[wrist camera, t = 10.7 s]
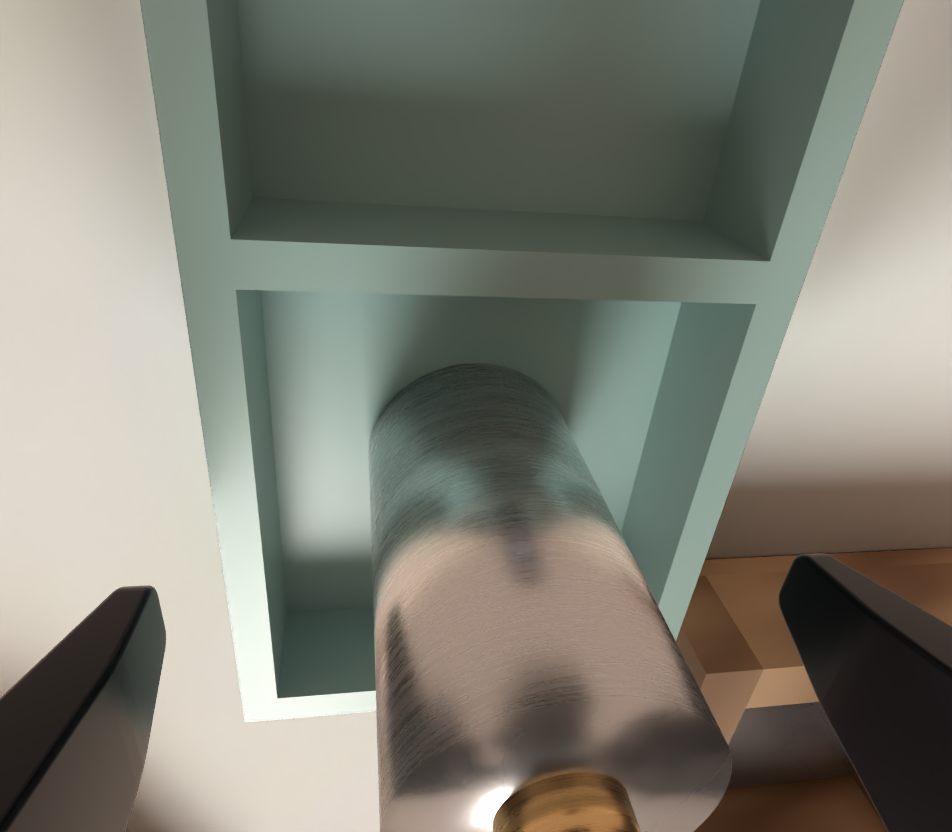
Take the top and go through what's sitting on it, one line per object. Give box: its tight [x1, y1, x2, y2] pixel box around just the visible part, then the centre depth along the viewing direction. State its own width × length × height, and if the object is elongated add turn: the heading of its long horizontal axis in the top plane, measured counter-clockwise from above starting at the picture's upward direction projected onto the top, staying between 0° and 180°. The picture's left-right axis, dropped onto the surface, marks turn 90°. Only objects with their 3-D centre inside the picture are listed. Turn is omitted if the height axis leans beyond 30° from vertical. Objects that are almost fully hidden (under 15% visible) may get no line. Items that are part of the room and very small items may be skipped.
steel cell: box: [368, 363, 732, 832], centre depth 9 cm, size 4×4×7 cm
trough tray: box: [140, 0, 904, 722], centre depth 9 cm, size 8×17×2 cm, turn 175°
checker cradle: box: [676, 548, 952, 832], centre depth 17 cm, size 9×9×3 cm
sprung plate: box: [727, 702, 854, 789], centre depth 17 cm, size 6×6×1 cm
